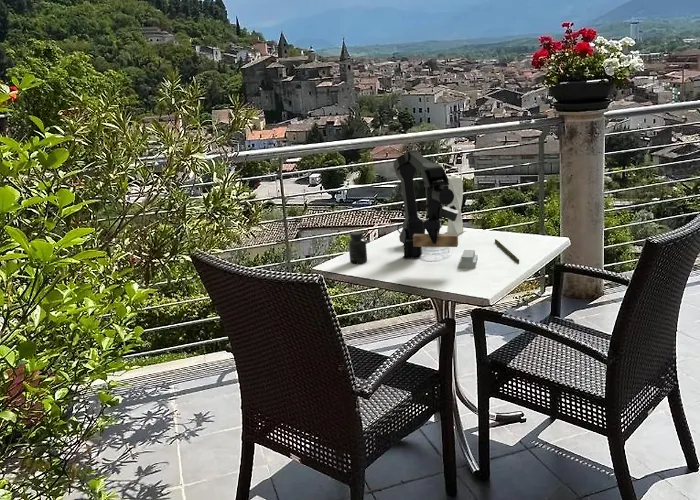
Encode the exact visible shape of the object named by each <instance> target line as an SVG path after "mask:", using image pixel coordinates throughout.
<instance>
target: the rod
mask: <svg viewBox="0 0 700 500" xmlns="http://www.w3.org/2000/svg"><path fill="white" fill-rule="evenodd" d="M494 243H495V245H496V246H498V248H500V249H501V250H502V251H503V252H504V253H506V255H508V256H509V257H510V258H511V259H513V261H515V262H516V263H517V264H520V259H519V258H518V257H517V256H516V255H515V254H513V252H512V251H510V250H509V249H508V248H507V247H506V246H505V245H504V244H502V243H501V242H500V240H497V239H494Z"/></svg>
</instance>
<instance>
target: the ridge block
mask: <svg viewBox="0 0 700 500" xmlns="http://www.w3.org/2000/svg"><path fill="white" fill-rule="evenodd" d="M475 252H476V249H464V250H463V252H462V254H461V255H460V258H459V261H458V267H459V268H476V266H477V263H478V260H479V258H478V257H479V256H478V254H476V253H475Z"/></svg>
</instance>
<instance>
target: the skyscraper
mask: <svg viewBox="0 0 700 500" xmlns="http://www.w3.org/2000/svg"><path fill="white" fill-rule="evenodd" d="M447 177H448V180H449V181H448V182H449V185H448V186H449V189H450V190H451V191H452V192H453V194H454V199H453V201H452V203H451V204H449V205H446V207H450V206H451V205H454V206H456V210H458V211H459V212H458V215H457V218H456V220H455V221H451V220H450V219H447V230H446V232H444V233H443V234H458V236H459V235H461V234H464V233H465V232H467V231H466V230H464V223H463V215H462V210H461V209H462V205H463V197H464V186H463V178H462V177H463V172H462V171H458V173H457V174H450V176H449V175H447Z"/></svg>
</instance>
